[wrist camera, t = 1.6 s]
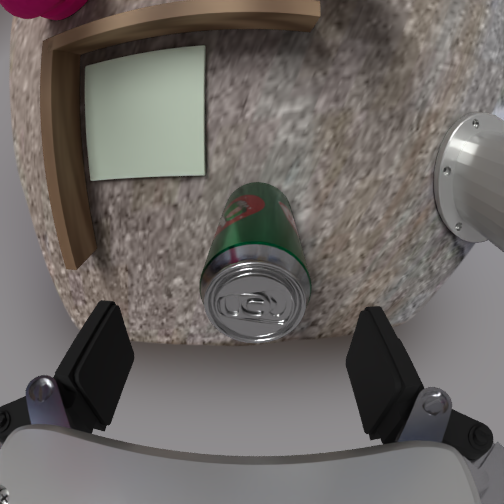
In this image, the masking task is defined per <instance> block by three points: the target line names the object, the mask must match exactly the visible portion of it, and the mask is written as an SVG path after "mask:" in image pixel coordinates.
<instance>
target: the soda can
mask: <svg viewBox="0 0 504 504" xmlns="http://www.w3.org/2000/svg"><path fill="white" fill-rule="evenodd" d="M200 295H201V299H202V302H203V304H204V307H205V312H206V314H207V317H208V318H209V320H210V322H211V323H212V324H213V325H214V327H215V328H216V329H218V330H219V331H220V332H221V333H223V334H224V335H226V336H228V337H230V338H232V339H235V340H238V341H242V342H247V343H264V342H270V341H273V340H277V339H279V338H281V337H283V336H285V335H287V334H288V333H290V332H291V331H292V330H293V329H294V328H295V327H296V326H297V325H298V324H299V322H300V321H301V320H302V317H303V315H304V312H305V308H306V307H307V305H308V302H309V300H310V296H311V279H310V275H309V271H308V268H307V264H306V260H305V257H304V253H303V249H302V246H301V242H300V239H299V235H298V232H297V228H296V225H295V222H294V218H293V215H292V211H291V208H290V205H289V202H288V200H287V198H286V197H285V195H284V194H283V193H282V192H281V191H280V190H279V189H277V188H276V187H274V186H272V185H270V184H266V183H260V182H255V183H249V184H246V185H243V186H241V187H239V188H238V189H237V190H235V191H234V192H233V193H232V194H231V196H230V197H229V199H228V201H227V203H226V206H225V208H224V211H223V214H222V217H221V220H220V222H219V225H218V228H217V231H216V234H215V236H214V239H213V242H212V245H211V248H210V251H209V254H208V257H207V260H206V262H205V265H204V268H203V271H202V274H201V278H200Z"/></svg>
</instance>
